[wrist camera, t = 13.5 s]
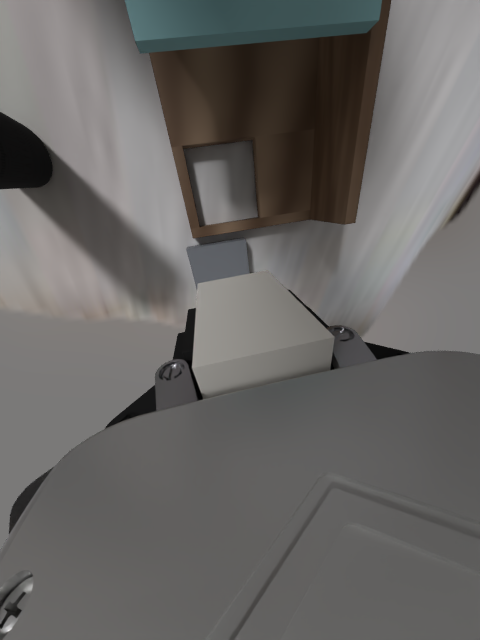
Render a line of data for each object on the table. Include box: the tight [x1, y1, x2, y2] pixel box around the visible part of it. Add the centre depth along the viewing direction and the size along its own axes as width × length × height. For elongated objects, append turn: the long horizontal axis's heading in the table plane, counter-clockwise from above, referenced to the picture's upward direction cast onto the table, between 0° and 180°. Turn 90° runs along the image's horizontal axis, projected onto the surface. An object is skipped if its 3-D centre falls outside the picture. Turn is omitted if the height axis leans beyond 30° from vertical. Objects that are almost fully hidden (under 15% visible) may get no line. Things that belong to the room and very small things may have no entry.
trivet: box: [186, 238, 249, 288], centre depth 25 cm, size 7×6×2 cm
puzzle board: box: [149, 0, 391, 238], centre depth 16 cm, size 15×18×8 cm
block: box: [192, 270, 335, 399], centre depth 10 cm, size 4×4×8 cm
